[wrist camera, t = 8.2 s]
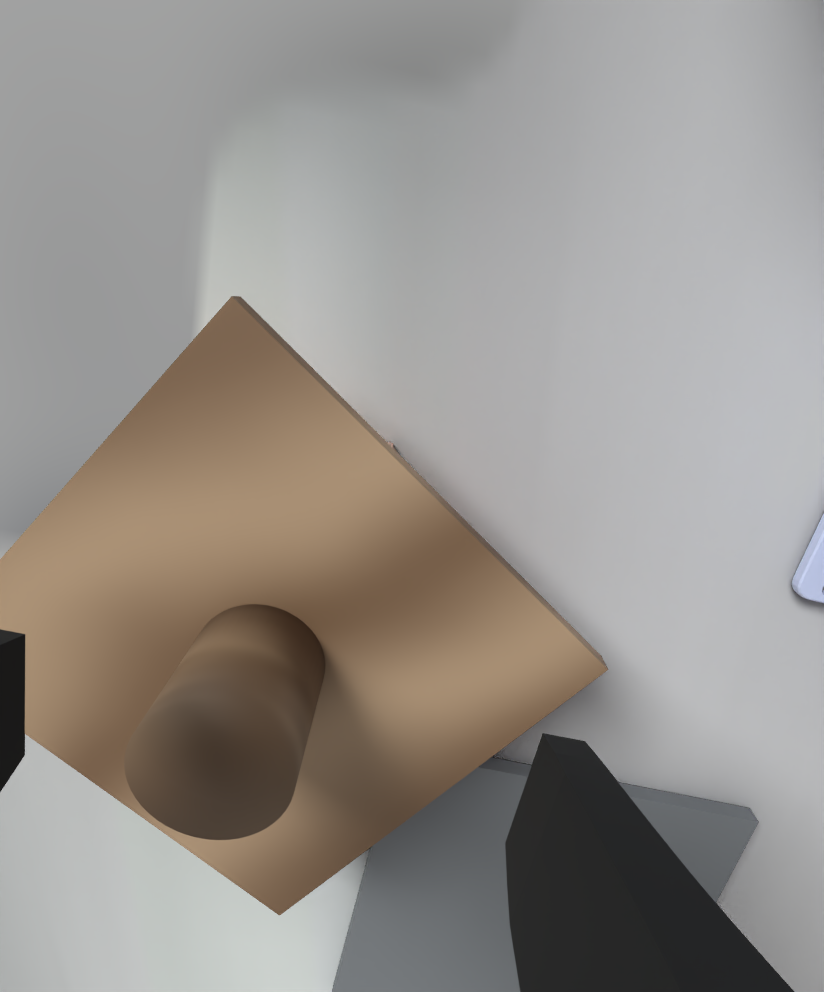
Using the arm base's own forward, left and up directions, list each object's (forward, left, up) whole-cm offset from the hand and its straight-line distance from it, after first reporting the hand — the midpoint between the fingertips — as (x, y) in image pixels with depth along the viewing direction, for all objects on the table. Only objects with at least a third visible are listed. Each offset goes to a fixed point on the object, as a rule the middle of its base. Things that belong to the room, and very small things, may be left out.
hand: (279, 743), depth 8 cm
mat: (-10, +15, -10) cm, 20 cm away
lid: (+1, +3, -6) cm, 7 cm away
